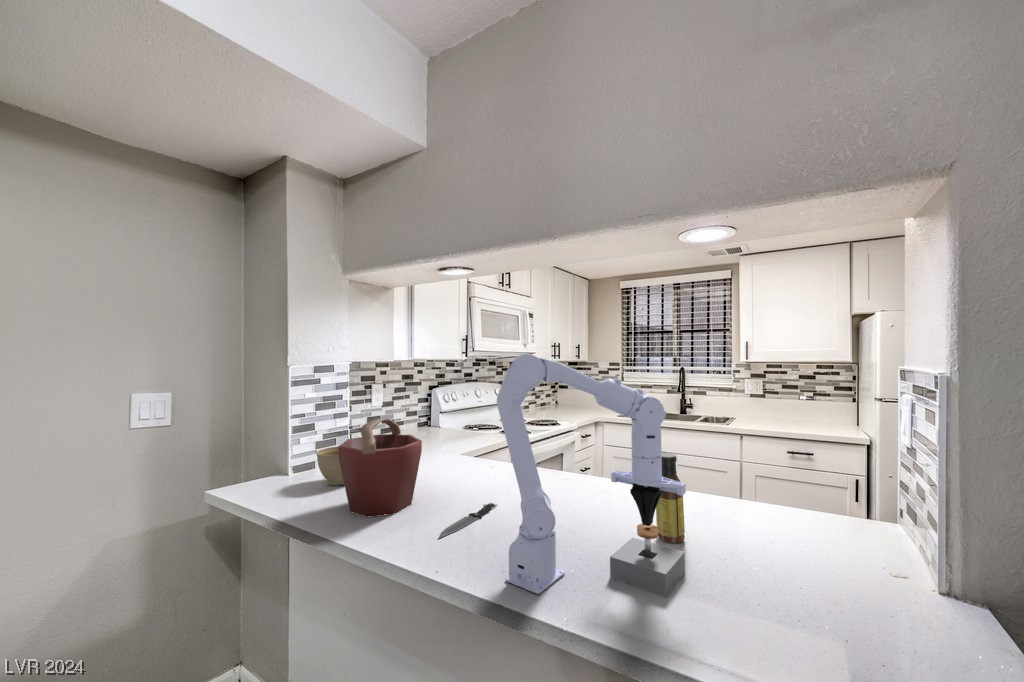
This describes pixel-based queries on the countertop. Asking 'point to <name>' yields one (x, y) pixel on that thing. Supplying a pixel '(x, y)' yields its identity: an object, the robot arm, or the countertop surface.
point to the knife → (468, 519)
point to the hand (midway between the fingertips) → (647, 523)
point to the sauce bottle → (670, 506)
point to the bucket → (380, 469)
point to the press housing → (648, 566)
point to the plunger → (647, 536)
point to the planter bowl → (330, 465)
